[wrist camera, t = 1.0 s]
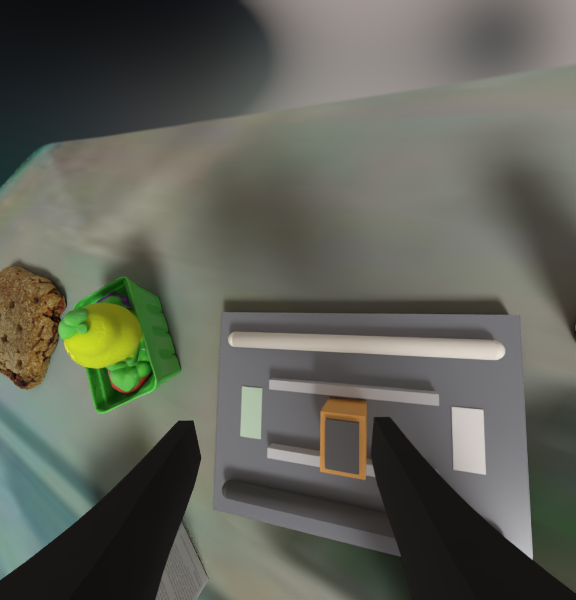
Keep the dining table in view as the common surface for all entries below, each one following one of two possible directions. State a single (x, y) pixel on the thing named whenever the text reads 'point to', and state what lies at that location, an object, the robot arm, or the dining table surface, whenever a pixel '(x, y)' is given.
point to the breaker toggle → (344, 437)
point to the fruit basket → (120, 343)
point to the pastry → (27, 325)
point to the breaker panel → (380, 403)
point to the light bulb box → (182, 571)
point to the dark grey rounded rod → (309, 507)
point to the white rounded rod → (372, 345)
